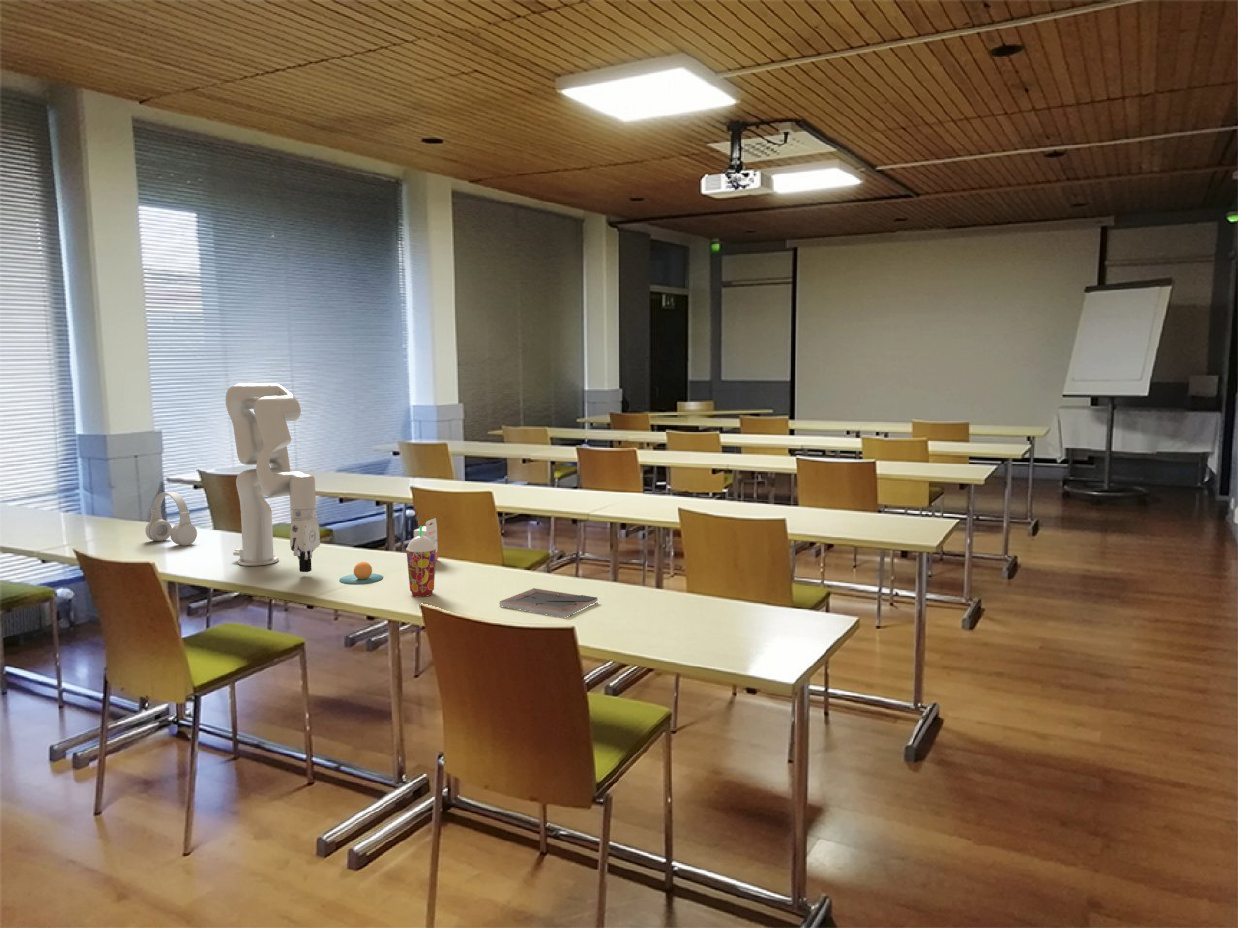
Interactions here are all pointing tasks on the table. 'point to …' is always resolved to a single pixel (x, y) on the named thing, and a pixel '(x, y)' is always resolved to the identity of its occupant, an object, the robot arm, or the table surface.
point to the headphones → (162, 529)
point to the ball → (363, 570)
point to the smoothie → (421, 565)
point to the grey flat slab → (548, 602)
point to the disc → (354, 580)
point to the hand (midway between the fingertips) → (305, 571)
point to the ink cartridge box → (429, 533)
